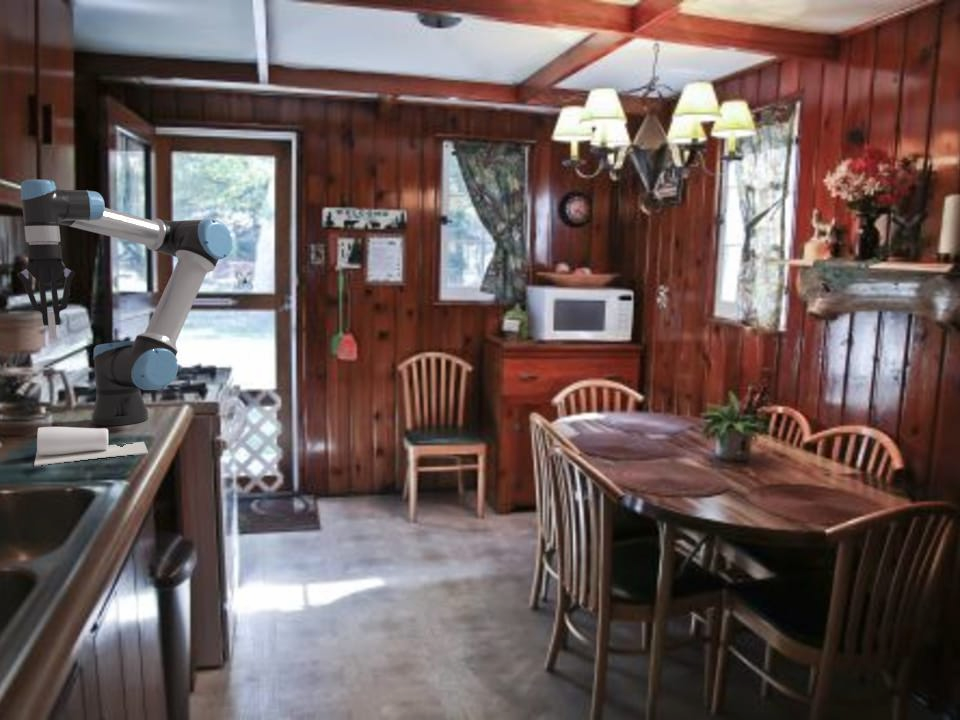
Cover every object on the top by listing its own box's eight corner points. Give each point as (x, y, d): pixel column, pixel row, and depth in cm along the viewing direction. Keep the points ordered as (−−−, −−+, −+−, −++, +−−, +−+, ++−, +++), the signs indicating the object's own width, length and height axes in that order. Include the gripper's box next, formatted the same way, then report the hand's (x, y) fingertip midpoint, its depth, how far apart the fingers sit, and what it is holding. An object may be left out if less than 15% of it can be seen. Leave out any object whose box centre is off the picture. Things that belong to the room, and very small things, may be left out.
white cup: (108, 425, 189) (37, 427, 183) (108, 453, 189) (36, 456, 183) (108, 425, 196) (39, 427, 189) (108, 452, 195) (39, 455, 189)
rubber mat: (144, 443, 201) (143, 441, 201) (148, 453, 190) (148, 452, 190) (36, 454, 190) (36, 452, 190) (34, 466, 179) (34, 464, 179)
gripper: (71, 243, 201) (80, 335, 205) (12, 244, 195) (22, 339, 198) (74, 243, 195) (83, 337, 198) (13, 244, 188) (23, 341, 192)
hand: (53, 338), depth 198 cm, fingers closed
